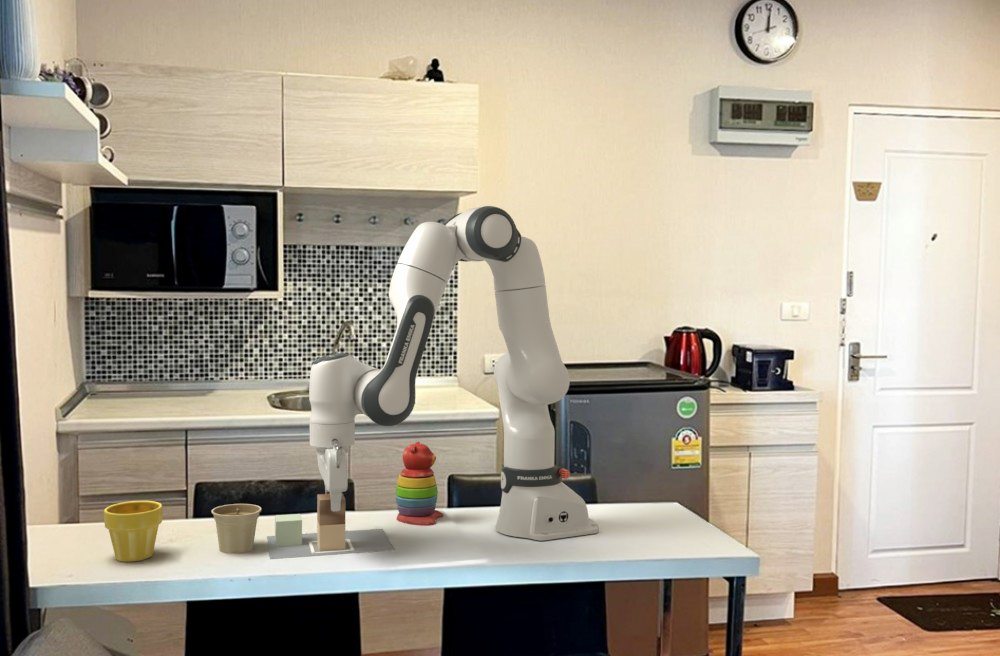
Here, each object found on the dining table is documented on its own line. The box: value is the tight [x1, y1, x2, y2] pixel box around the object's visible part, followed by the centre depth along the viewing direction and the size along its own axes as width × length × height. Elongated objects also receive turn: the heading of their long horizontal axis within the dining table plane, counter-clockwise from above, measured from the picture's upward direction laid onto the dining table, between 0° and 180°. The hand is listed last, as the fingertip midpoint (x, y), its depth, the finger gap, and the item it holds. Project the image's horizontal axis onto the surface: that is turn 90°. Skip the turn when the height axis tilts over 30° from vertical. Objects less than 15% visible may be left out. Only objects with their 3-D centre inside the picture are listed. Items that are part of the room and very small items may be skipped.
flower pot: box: [210, 503, 262, 555], centre depth 174 cm, size 9×9×9 cm
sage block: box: [274, 513, 303, 547], centre depth 179 cm, size 5×5×5 cm
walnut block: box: [316, 492, 346, 526], centre depth 176 cm, size 5×5×5 cm
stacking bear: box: [395, 441, 444, 527], centre depth 198 cm, size 11×10×18 cm
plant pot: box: [103, 500, 163, 563], centre depth 170 cm, size 10×10×10 cm
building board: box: [266, 519, 396, 560], centre depth 179 cm, size 24×16×6 cm, turn 107°
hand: (332, 504), depth 176 cm, fingers open, 8 cm apart
